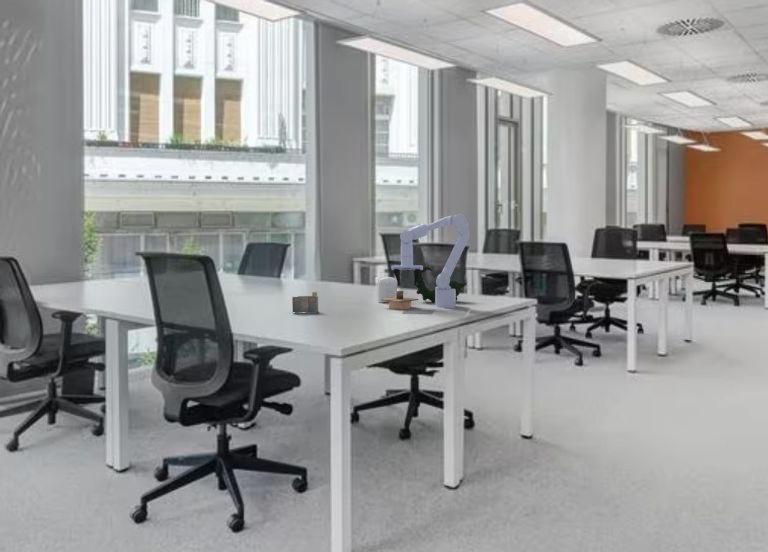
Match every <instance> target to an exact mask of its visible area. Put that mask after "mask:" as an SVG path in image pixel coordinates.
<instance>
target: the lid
mask: <svg viewBox="0 0 768 552" xmlns="http://www.w3.org/2000/svg"><path fill="white" fill-rule="evenodd" d="M381 300H382V301H390V302H398V303H402V302H409V301H411V302H414V301H415V302H416V301H419V298H414V297H406V296H404V290H397V291H396V297H394V298H386V299H381Z"/></svg>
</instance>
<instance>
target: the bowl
mask: <svg viewBox="0 0 768 552" xmlns="http://www.w3.org/2000/svg"><path fill="white" fill-rule="evenodd" d="M411 308H412V301H409V302H402V303H398V302H390V301H389V302H388V309H391V310H407V309H411Z"/></svg>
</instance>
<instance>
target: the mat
mask: <svg viewBox="0 0 768 552" xmlns="http://www.w3.org/2000/svg"><path fill="white" fill-rule="evenodd" d="M436 310H437V309H411V308H409V309H405V310H404V311H403V312H402V313H401V315H433V314H434V313H435V312H436Z"/></svg>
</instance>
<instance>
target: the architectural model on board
mask: <svg viewBox="0 0 768 552" xmlns="http://www.w3.org/2000/svg"><path fill="white" fill-rule="evenodd" d="M311 294H312V295H302V296H301V295H300V296H299V295H297V296H292V297H291V298H292V313H293V312H318V313H319V296H318V291H312V293H311Z"/></svg>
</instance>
